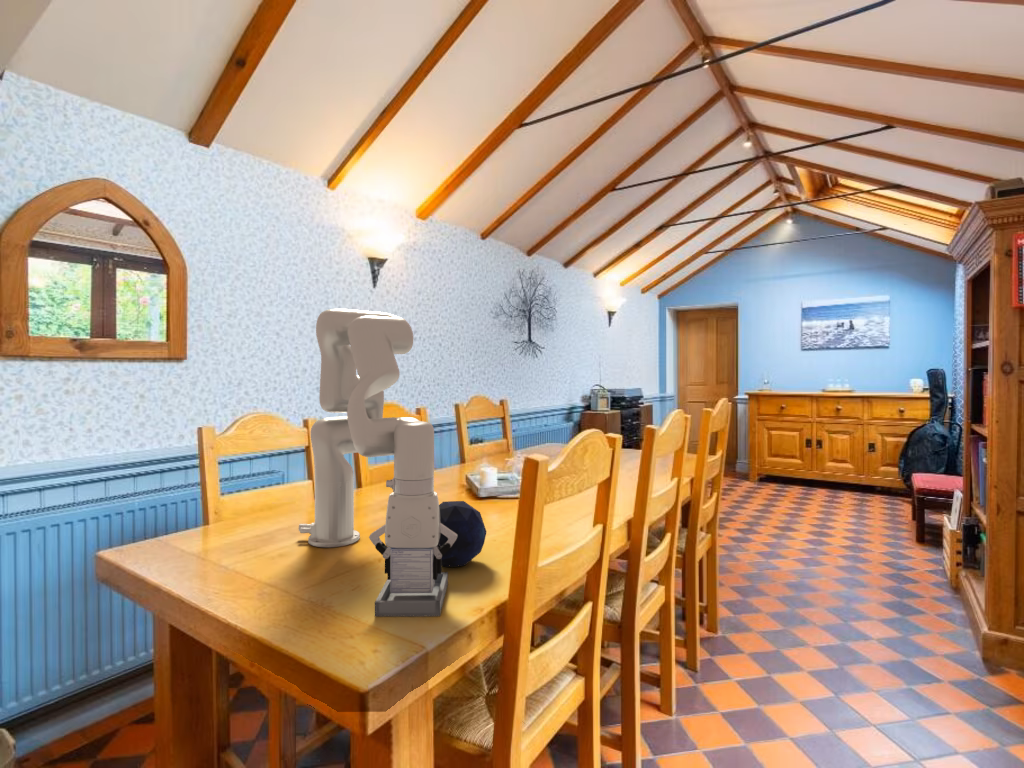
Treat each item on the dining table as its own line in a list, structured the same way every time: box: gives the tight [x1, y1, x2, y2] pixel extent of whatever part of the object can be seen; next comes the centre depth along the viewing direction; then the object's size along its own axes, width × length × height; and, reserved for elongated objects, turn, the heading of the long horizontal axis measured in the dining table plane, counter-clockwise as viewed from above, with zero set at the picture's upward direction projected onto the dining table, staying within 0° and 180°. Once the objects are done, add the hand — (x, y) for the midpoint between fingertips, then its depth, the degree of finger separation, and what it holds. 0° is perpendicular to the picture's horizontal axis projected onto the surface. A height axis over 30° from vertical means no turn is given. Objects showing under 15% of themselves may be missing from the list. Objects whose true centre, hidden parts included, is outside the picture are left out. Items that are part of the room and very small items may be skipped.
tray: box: [374, 571, 449, 617], centre depth 105 cm, size 12×15×2 cm
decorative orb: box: [439, 500, 487, 568], centre depth 124 cm, size 14×15×15 cm
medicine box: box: [390, 548, 435, 593], centre depth 104 cm, size 8×4×9 cm, turn 92°
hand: (413, 576), depth 105 cm, fingers closed on medicine box, 8 cm apart
